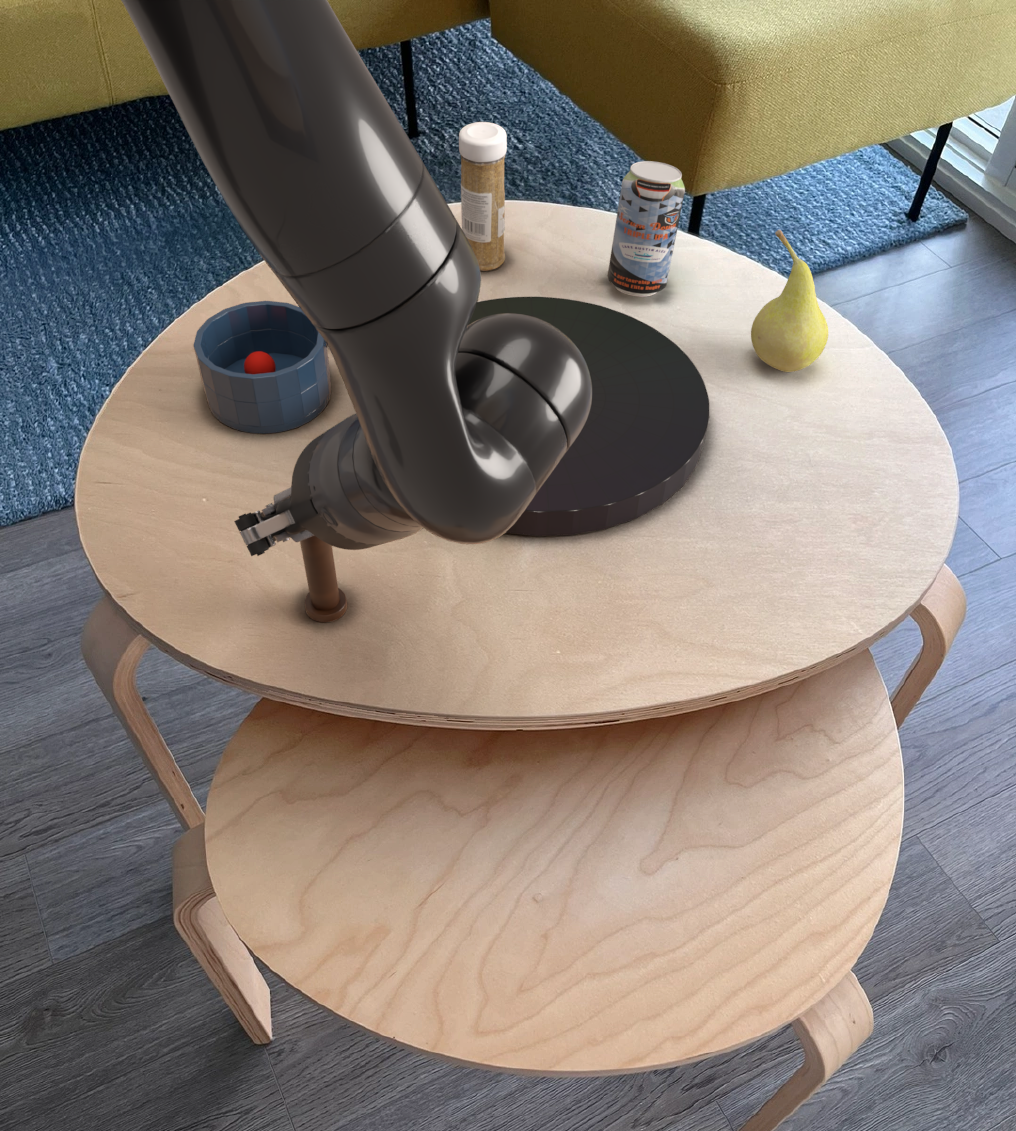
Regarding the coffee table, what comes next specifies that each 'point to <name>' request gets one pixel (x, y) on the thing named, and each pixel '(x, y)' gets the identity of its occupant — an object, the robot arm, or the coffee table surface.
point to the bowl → (264, 396)
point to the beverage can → (646, 228)
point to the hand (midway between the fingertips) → (297, 513)
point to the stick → (322, 582)
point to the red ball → (259, 363)
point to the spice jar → (483, 191)
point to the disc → (616, 420)
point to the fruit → (791, 322)
